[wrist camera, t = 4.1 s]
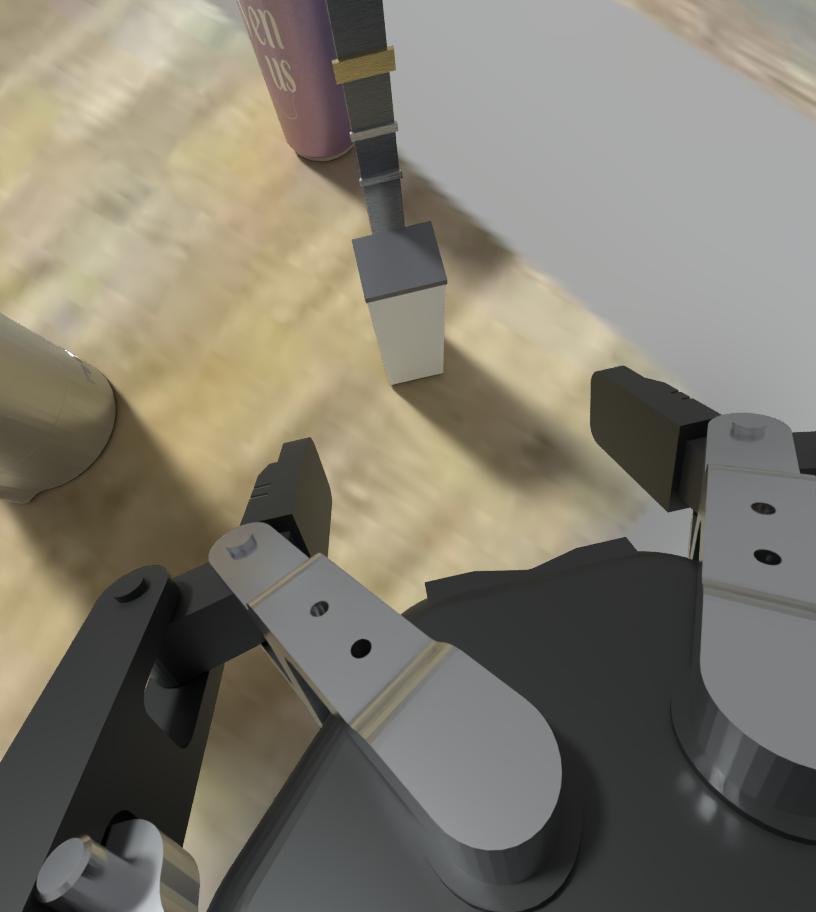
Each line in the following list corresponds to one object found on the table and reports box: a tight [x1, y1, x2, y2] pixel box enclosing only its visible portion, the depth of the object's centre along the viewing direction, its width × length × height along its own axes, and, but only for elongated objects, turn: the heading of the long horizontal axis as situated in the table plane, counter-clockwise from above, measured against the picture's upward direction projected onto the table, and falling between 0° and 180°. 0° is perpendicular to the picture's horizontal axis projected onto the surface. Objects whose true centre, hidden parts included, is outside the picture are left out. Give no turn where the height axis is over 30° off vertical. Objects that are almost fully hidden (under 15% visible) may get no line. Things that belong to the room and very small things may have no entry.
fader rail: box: [326, 0, 405, 235], centre depth 20 cm, size 2×3×17 cm, turn 103°
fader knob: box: [352, 221, 447, 385], centre depth 23 cm, size 3×4×9 cm
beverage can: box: [236, 0, 354, 161], centre depth 26 cm, size 6×6×15 cm
